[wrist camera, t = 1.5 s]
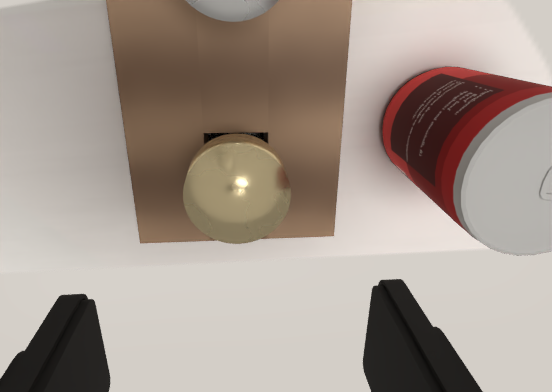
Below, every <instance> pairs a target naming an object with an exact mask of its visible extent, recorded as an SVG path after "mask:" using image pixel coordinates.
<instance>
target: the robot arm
mask: <svg viewBox="0 0 552 392" xmlns="http://www.w3.org/2000/svg"><path fill="white" fill-rule="evenodd" d="M363 368H364V373H365V376H366V379H367V381H368V384H369V386H370V389H371V392H482V390H481V389H480V387H479V386H478V384H477V383H476V381H475V380H474V378H473V377H472V375H471V374H470V372H469V371H468V369H467V368H466V366H465V365H464V363H463V362H462V360H461V359H460V357H459V356H458V354H457V353H456V351H455V350H454V348H453V347H452V345H451V344H450V342H449V341H448V339H447V338H446V336H445V335H444V333H443V332H442V331H441V330H440V329H439V328H437V327H433V326H432V325H431V323H430V322H429V320H428V318H427V317H426V315H425V314H424V312H423V311H422V309H421V307H420V306H419V304H418V303H417V301H416V300H415V298H414V297H413V295H412V294H411V292H410V290H409V289H408V287H407V286H406V284H405V283H404V282H403V280H401V279H396V280H395V279H394V280H381V281H380V282H379V284H378V286H373V289H372V294H371V302H370V310H369V317H368V325H367V333H366V341H365V349H364V356H363ZM109 387H110V373H109V369H108V364H107V359H106V354H105V349H104V344H103V339H102V334H101V329H100V325H99V319H98V315H97V310H96V305H95V301H94V300H93V299H88V298H87V296H86V295H85V294H72V295H61V296H59V298H58V299H57V301H56V302H55V304H54V305H53V307H52V308H51V310H50V312H49V313H48V315H47V316H46V318H45V320H44V321H43V323H42V324H41V326H40V328H39V329H38V331H37V332H36V334H35V336H34V337H33V339H32V340H31V342H30V343H29V345H28V347H27V348H26V350H25V351H22V352H20V353H18V354H17V355H16V356H15V358H14V359H13V360H12V362H11V363H10V365H9V367H8V368H7V370H6V371H5V373H4V375H3V376H2V378H1V379H0V392H109Z"/></svg>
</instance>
